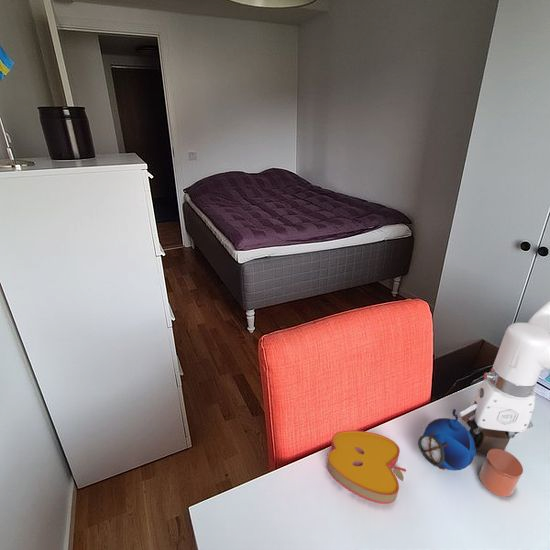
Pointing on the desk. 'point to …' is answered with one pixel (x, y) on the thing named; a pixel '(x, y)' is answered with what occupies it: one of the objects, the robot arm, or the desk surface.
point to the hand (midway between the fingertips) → (485, 443)
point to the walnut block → (492, 440)
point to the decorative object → (366, 465)
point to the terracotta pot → (500, 472)
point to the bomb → (447, 444)
